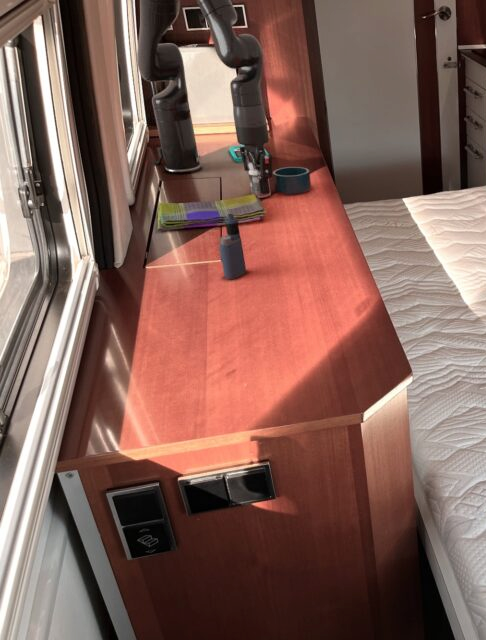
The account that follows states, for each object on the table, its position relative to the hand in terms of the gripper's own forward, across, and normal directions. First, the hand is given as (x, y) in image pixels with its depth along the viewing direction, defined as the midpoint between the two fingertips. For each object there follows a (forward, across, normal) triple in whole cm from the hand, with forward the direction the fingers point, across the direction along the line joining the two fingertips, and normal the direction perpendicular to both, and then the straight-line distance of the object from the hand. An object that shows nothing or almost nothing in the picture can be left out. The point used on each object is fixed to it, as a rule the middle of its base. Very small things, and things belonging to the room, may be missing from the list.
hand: (260, 190), depth 208 cm
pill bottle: (+1, 0, 0) cm, 1 cm away
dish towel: (+2, -8, +16) cm, 18 cm away
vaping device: (+2, -47, +27) cm, 54 cm away
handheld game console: (+2, +43, -16) cm, 46 cm away
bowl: (+1, 0, -9) cm, 9 cm away
